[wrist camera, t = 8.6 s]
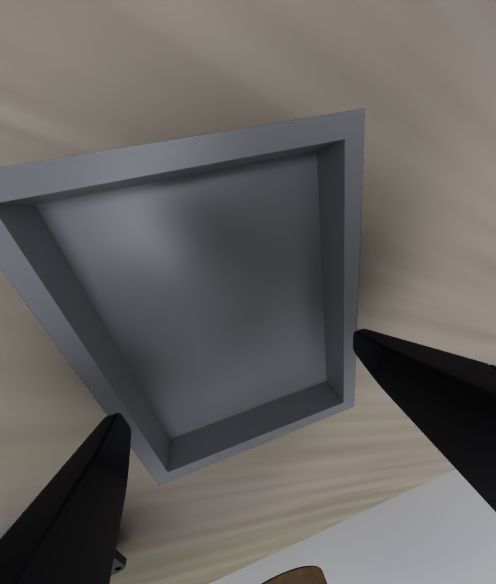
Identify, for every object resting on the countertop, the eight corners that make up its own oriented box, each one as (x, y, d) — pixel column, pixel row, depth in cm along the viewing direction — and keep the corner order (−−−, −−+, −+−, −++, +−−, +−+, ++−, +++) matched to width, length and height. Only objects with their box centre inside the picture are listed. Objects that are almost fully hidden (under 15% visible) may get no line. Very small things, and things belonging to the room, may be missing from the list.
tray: (331, 378, 16) (354, 406, 14) (163, 441, 14) (158, 485, 12) (324, 131, 10) (364, 108, 7) (8, 186, 8) (-66, 178, 5)
